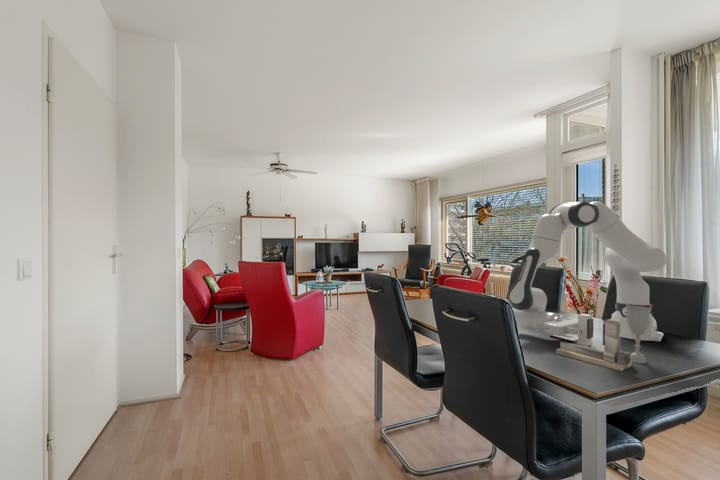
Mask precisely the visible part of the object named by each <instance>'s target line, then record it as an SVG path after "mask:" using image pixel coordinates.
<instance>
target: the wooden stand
mask: <svg viewBox="0 0 720 480" xmlns="http://www.w3.org/2000/svg"><path fill="white" fill-rule="evenodd" d="M621 338H622V337H621V321H620V320H614V319H611V318H608V319H605V320H604V323H603V324H602V346H604V350H601V349H596V348H593V349H592V348H588V347H584V346H580V345H577V344H575V343H570V342H566V341H561V342H560V345H559V346H560V347H559V348H556V349H555V354H557V355H561V356H564V357H568V358H572V359H576V360H579V361H584V362H587V363H590V364H593V365H594V364H595V365H597V366H601V367H606V368H610V369H612V370H613V369H614V370H616V371H620V372H623V371H625V370H627V369H630V368H631V367H633V361H631V354H632V352H629V351H623V352H622V351H621V349H622V348H621V342H622V341H621V340H622V339H621Z"/></svg>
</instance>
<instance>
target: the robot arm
mask: <svg viewBox="0 0 720 480" xmlns="http://www.w3.org/2000/svg"><path fill="white" fill-rule="evenodd" d="M585 227H587V228H588V229H589V230H590V232H591V233H592V234H593V236H595V237H596V239H598V241H599V242H600V243H601V245H603V246H604V247H605V248H607V249H606V251H605V252H604V255H603V256H604V257H603V259H604V262H605V263H606V265H607V266H608V267H610V270H611V272H612V274H613V276H614V280H615V284H616V301H615V304H614V305H615V308H614V309H615V311H614V312H613V313H612V314H611V318H610V319H614V320H620V321H621V338H624V339H628V340H634V341H635V340H636V335H635V334H633V333H632V331H631V329H630V327H629V325H628V322H627V309H626V307H625V306H640V307H646V308H650V309H651V311H650V312H649V325H648V328H647V329H646V331H645V332H644V334H643V335H640V337H639V338H640V341H652V342H661V341H662V339H663V337H664V332H661V331H658V327H657V321H656V319H655V317H654V316H653V314H652V312H653V311H652V308H653V304H650V298H651V297H650V292H651V291H650V285H649V284H648V283H647V282H646V281H645V280H644V278H643V277H642V275H641V273H651V272H658V271H660V270H662V269H663V268H664V267H665V266H666V264H667V255H666V253H665V252H664V250H663V249H661V248H658V247H656V246H654V245H652V244H650V243H649V242H646V241H645V240H643V239H642V238H641V237H640V236H638V235H636V234H635V233H634V232H632V231H631V230H630V229H629V228H628V227H627V226H626V224H625V223H624V222H623V221H622V220H621V219H620V218H619V216H617V214H616V213H615V212H614V211H613V210H612V209H611V208H610V207H608V206H607V204H605V203H603V202H601V201H599V200H596V201H595V200H594V201H590V202H587V201H583V200H582V201H580V200H579V201H570V202H566V203H561V204H560V203H559V204H557V205H555V206H553V207H552V208H551V209H550V210H549V211H548V213H546V214H542V215H541V216H539V218H538V219H537V221H536V224H535V226H534V228H533V229H534V230H533V233H532V236H531V239H530V244H529V247H528V248H527V251H525V254H524V255H523V258H522V260H521V263H520V267H519V268H518V272H517V275H516V278H515V280H514V283H513V285H512V286H511V287H510V288H509V291H508V293H507V299H508V303H509V302H510V303H509V305H510V304H511V305H512V306H511V305H510V306H511V307H512V309H513V310H514V314H515V317H516V321H517V326H516V327H519V328H521V329H525V330H528V331H537V332H538V333H541V334H547V335H551V336H557V337H559V336H566V335H568V334H569V335H577V336H578V335H581V334H582V330H581V329H578V317H574V316H569V315H565V314H564V313H559V312H551V311H546V308H547V304H548V296H547V294H546V292H545V291H544V290H543V289H541V288H537V287H532V286H533V285H532V284H533V281H534V279H535V277H536V273H537V270H538V268H539V266H541V265H542V264H543V263H546V262H549V261H551V260H552V259H554V258H555V257H557V255H558V252H559V250H560V247H561V242H562V237H563V233H564V232H565V230H566V229H574V228H585ZM594 330H595V327H594V326H593V331H594Z"/></svg>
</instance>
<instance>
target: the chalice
mask: <svg viewBox="0 0 720 480" xmlns="http://www.w3.org/2000/svg"><path fill="white" fill-rule="evenodd" d="M625 307H626V309H627V322H628V325H629V327H630V329H631V331H632V333H633V334H635V335H636V340H635V339H634V342H635V345H634V347H635V351H634V352H631V361H632V363H639V364H647V363H648V362H647V361H648V360H646V357H645V355H644V354H643V353H641V352H640V349H641V348H642V346H641V345H640V343H641V342H642V340H640V338H639V337H640V335H643V334H644V332H645V331H646V329H647V328H648V325H649V312H650V311H651V312H652V309H650V308H646V307H640V306H625Z"/></svg>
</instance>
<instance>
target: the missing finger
mask: <svg viewBox="0 0 720 480" xmlns="http://www.w3.org/2000/svg"><path fill="white" fill-rule="evenodd" d="M577 318H578V329H581V330H582V334H581V335H577V342H576V345H580V346H584V347H588V348H592V349H594V348H593V345H594V342H593V338H594V330H593V327H594V318H593V315H592V314H587V313H579V314H577Z"/></svg>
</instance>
